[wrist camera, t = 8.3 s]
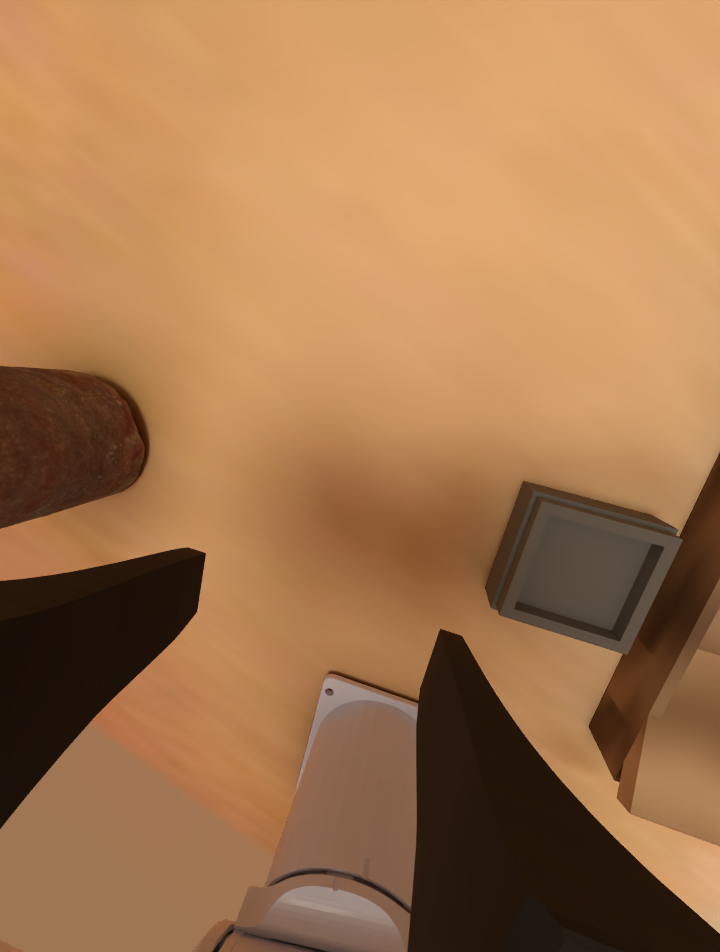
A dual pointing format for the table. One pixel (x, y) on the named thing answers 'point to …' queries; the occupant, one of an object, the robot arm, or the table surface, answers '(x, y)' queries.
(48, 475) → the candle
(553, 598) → the grey square tray
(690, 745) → the lane
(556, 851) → the robot arm
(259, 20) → the table surface
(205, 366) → the table surface
